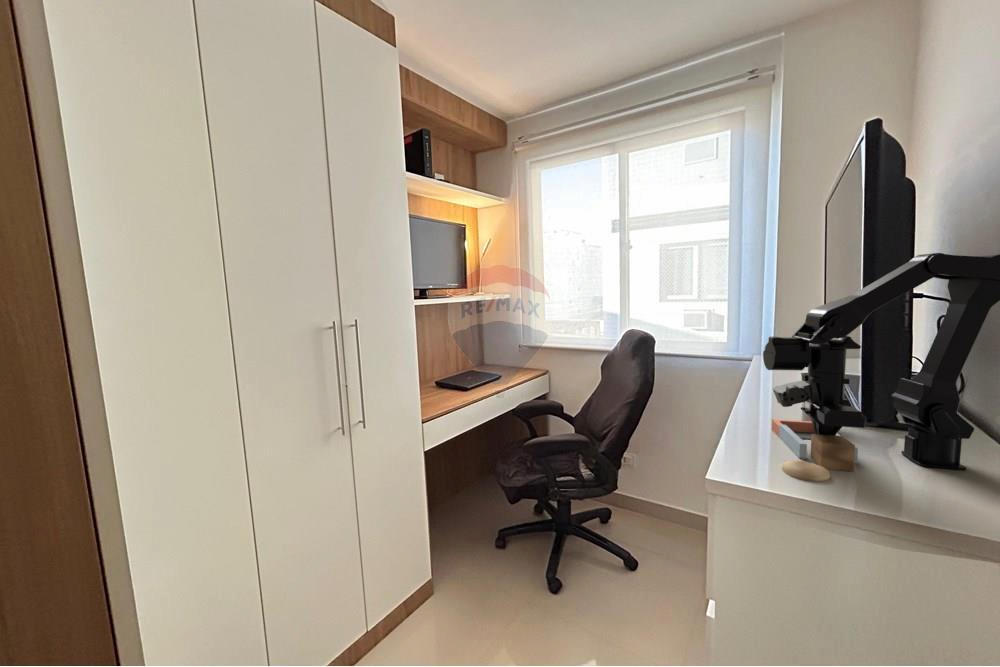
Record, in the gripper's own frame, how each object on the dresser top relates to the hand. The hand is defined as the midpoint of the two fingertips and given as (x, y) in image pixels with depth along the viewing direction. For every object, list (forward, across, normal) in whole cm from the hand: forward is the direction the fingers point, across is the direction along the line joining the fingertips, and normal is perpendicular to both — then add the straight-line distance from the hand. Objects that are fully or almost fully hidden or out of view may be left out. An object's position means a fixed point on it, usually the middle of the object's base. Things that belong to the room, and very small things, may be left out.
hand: (822, 446), depth 81 cm
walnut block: (+2, +4, 0) cm, 5 cm away
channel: (+2, -4, 0) cm, 4 cm away
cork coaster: (+2, +10, -6) cm, 11 cm away
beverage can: (+2, -22, +6) cm, 22 cm away
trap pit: (+2, -12, 0) cm, 12 cm away
